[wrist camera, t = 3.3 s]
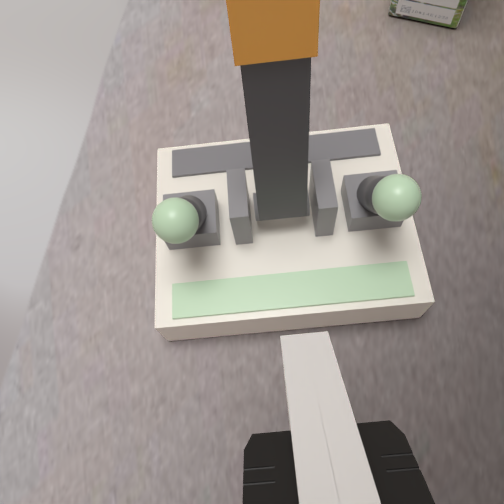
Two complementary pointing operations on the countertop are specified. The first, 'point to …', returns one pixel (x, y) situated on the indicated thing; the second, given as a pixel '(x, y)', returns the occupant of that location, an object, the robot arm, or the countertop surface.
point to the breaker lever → (277, 97)
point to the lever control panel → (286, 240)
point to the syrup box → (430, 11)
